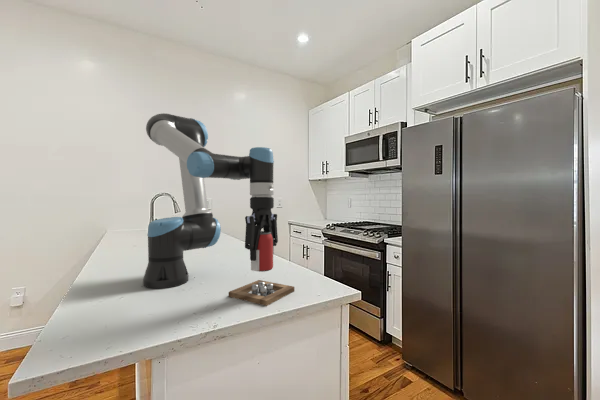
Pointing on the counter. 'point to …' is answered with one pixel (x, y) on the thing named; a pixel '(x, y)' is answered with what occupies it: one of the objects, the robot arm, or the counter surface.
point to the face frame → (263, 300)
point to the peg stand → (262, 288)
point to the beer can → (265, 251)
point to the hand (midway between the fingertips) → (262, 267)
